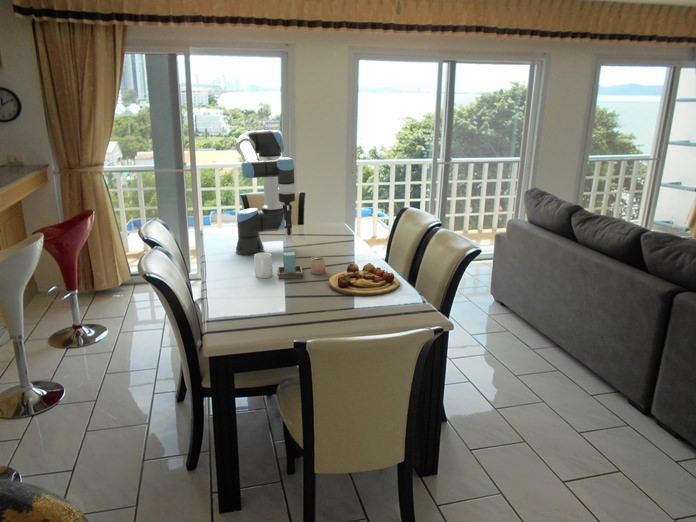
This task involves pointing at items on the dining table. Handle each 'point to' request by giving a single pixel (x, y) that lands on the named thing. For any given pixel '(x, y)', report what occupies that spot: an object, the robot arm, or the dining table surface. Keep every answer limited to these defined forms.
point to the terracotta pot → (317, 265)
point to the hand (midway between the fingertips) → (288, 237)
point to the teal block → (289, 262)
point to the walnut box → (290, 275)
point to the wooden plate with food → (364, 281)
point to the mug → (263, 265)
